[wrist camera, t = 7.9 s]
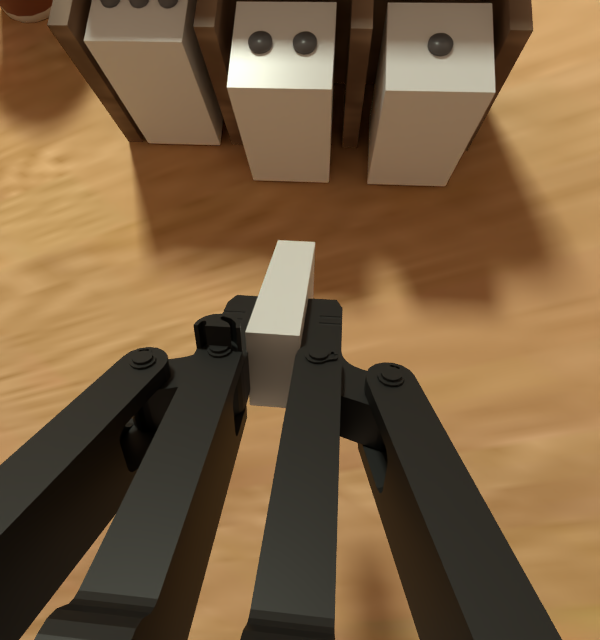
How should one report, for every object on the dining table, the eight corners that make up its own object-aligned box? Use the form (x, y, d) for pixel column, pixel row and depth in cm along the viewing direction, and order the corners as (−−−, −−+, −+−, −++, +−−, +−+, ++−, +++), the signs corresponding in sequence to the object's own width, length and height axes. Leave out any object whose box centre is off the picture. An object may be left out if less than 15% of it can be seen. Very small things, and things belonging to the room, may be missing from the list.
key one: (444, 118, 35) (493, 0, 25) (445, 186, 34) (496, 89, 24) (369, 116, 35) (388, -1, 25) (367, 183, 34) (386, 87, 24)
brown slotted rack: (465, 62, 36) (586, -237, 20) (467, 150, 34) (602, -97, 18) (142, 57, 38) (3, -221, 21) (128, 141, 36) (-35, -92, 20)
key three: (227, 82, 37) (192, -43, 27) (220, 145, 35) (180, 39, 25) (158, 80, 37) (98, -43, 27) (148, 143, 36) (81, 38, 26)
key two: (332, 116, 35) (336, -1, 26) (328, 182, 34) (331, 86, 24) (259, 114, 36) (235, -2, 26) (253, 180, 35) (225, 84, 25)
